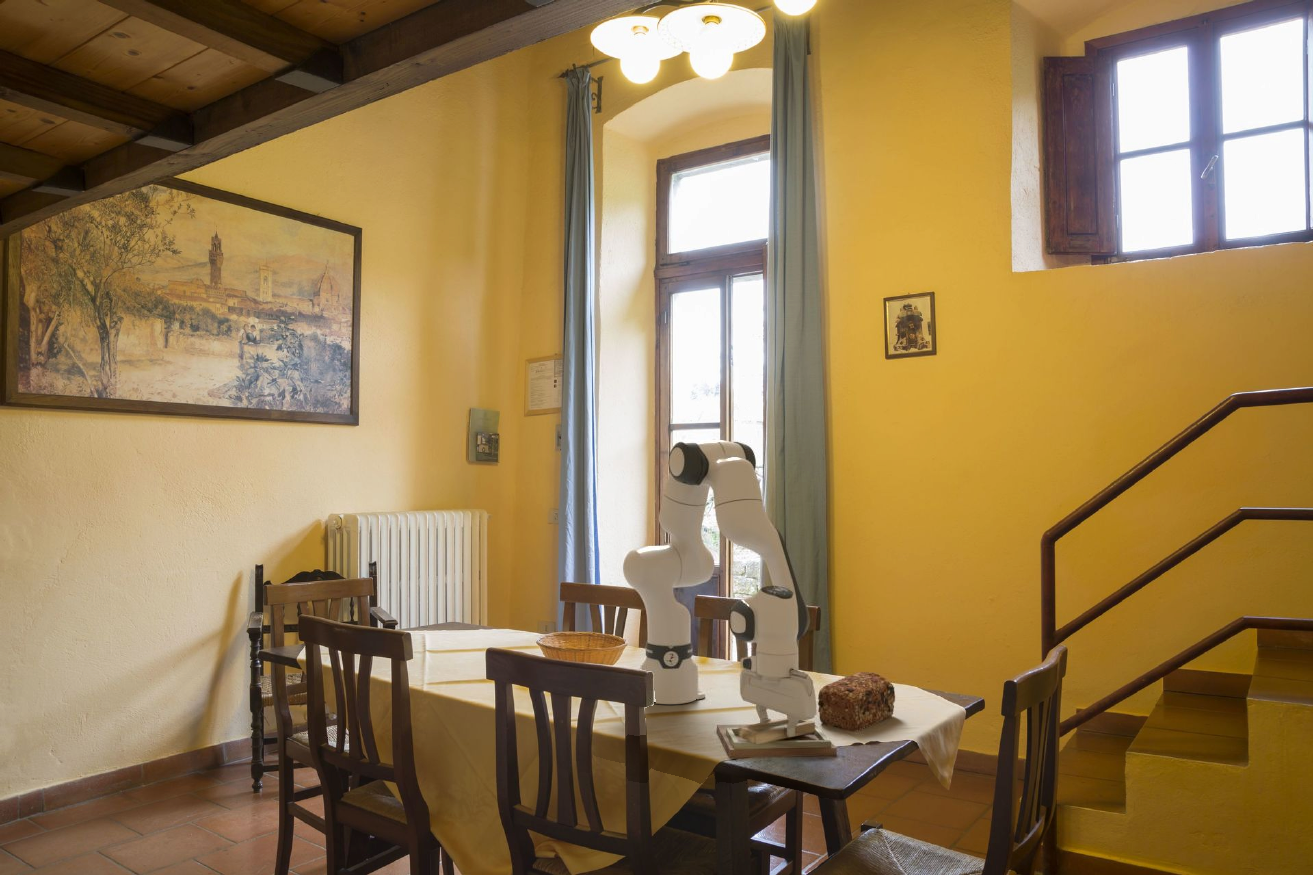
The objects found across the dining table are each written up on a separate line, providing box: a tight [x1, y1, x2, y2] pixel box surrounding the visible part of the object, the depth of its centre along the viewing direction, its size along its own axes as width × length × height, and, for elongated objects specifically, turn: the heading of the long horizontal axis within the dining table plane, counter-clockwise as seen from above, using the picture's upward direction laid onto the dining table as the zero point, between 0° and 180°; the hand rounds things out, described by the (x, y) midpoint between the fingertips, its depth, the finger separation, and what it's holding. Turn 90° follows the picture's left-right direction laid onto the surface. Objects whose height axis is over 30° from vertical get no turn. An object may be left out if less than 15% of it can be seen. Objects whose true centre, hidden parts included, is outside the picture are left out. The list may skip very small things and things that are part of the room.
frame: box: [739, 717, 816, 744], centre depth 184 cm, size 6×16×2 cm, turn 125°
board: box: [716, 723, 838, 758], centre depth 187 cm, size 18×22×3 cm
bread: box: [817, 671, 896, 732], centre depth 205 cm, size 19×11×10 cm, turn 136°
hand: (777, 731), depth 184 cm, fingers closed on frame, 6 cm apart
